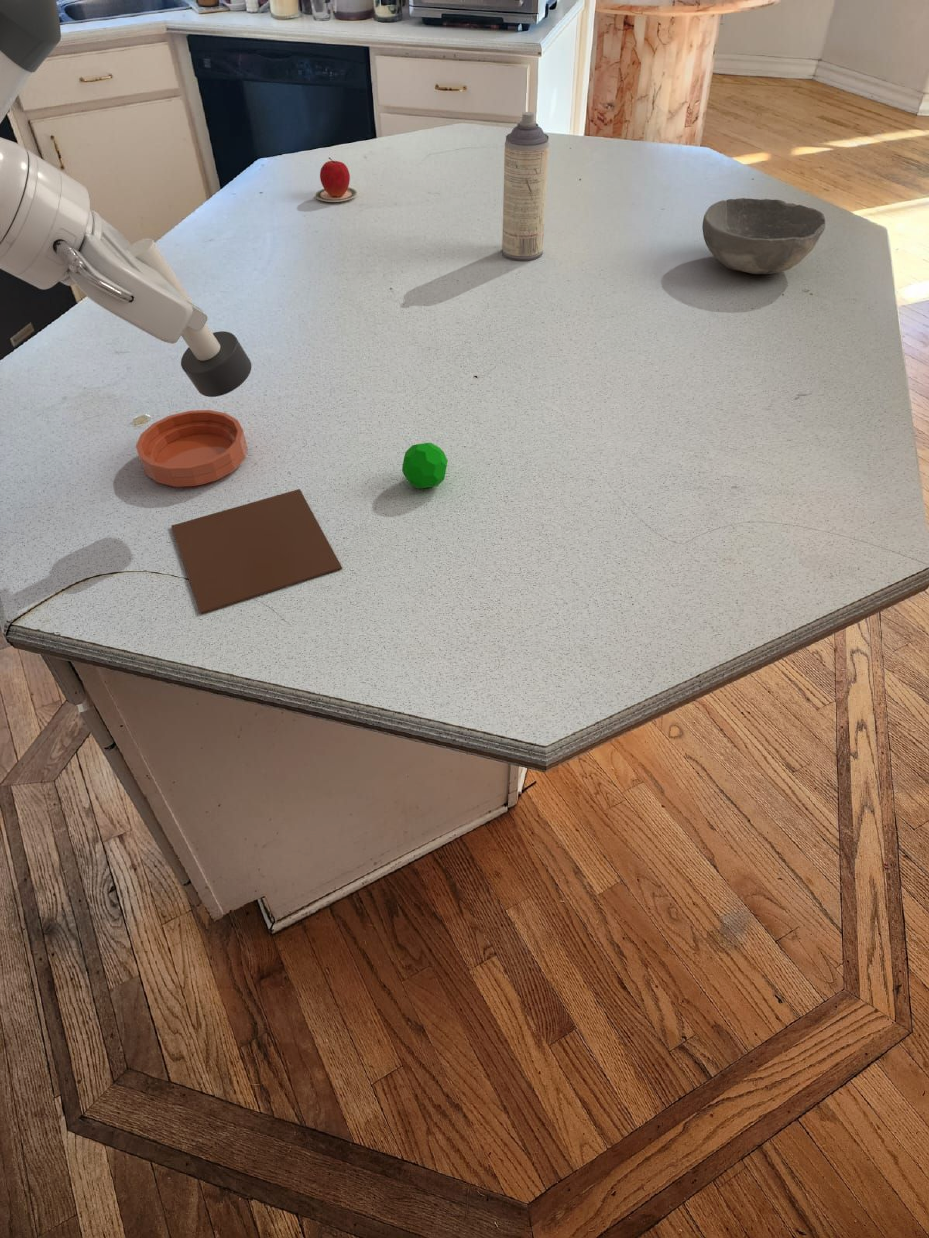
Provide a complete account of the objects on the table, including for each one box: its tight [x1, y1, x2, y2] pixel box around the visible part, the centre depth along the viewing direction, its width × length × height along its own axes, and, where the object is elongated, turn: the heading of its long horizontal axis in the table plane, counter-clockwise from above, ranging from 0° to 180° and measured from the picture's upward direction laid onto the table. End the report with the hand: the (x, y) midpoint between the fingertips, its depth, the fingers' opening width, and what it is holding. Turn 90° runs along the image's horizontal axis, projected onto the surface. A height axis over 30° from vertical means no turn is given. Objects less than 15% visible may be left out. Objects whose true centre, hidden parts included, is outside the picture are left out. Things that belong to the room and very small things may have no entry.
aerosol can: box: [501, 111, 550, 262], centre depth 120 cm, size 7×7×20 cm
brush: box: [128, 237, 252, 398], centre depth 70 cm, size 6×6×14 cm
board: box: [170, 488, 343, 615], centre depth 77 cm, size 14×14×1 cm
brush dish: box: [135, 409, 248, 488], centre depth 87 cm, size 12×12×3 cm
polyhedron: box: [401, 442, 448, 490], centre depth 82 cm, size 5×5×5 cm
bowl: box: [701, 197, 826, 275], centre depth 119 cm, size 18×18×8 cm
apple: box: [315, 157, 358, 203], centre depth 144 cm, size 8×8×6 cm
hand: (193, 313), depth 70 cm, fingers closed on brush, 2 cm apart
